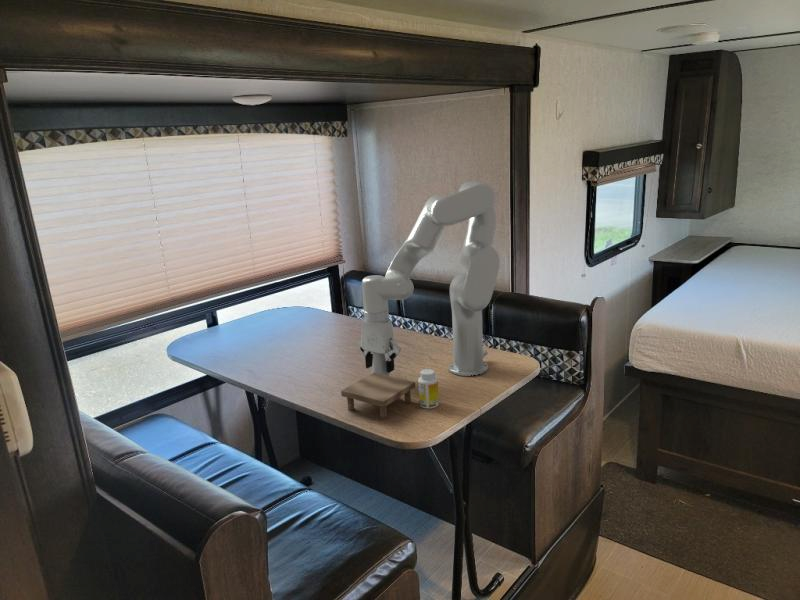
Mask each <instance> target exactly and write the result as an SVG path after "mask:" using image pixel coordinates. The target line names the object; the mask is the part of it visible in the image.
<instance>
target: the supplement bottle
mask: <svg viewBox="0 0 800 600" xmlns="http://www.w3.org/2000/svg"><path fill="white" fill-rule="evenodd" d="M417 383H418V384H417V385H418V400H419V402H418V403H419V406H420V407H421V408H423V409H426V410H428V409H429V410H431V409H435V408H437V407H438V406H439V404H440V399H439V398H440V397H439V379H438V377H437V376H436V373H435V370H434V369H431V368H425V369H422V370H421V371H420V377H418V380H417Z"/></svg>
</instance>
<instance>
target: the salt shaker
mask: <svg viewBox="0 0 800 600" xmlns="http://www.w3.org/2000/svg"><path fill="white" fill-rule="evenodd" d="M372 354H373V362H372V366H371V371H370V375H371V374H372V373H377V374H382V375H386V376H390V373H391V372H390V373H387V370H386V361H387V358H386V356H385V354H380V353H375V352H372Z"/></svg>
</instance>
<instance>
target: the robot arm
mask: <svg viewBox="0 0 800 600" xmlns="http://www.w3.org/2000/svg"><path fill="white" fill-rule="evenodd" d="M495 202H496V192H495V189H493V187H491V185H489V184H487V183H484V182H479V181H467V182H464V183H463V184H462V185H460V187H459V189H458V192H454V193H452V194H449V195H441V194H439V195H437V194H436V195H433V196H431V197H429V198H428V199H427V200H426V202H425V203H424V206H423V207H422V210H421V212H420V213H419V215H418V217H417V219H416V221H415V223H414V225H413V227H412V229H411V231H410V233H409V235H408V237H407V238H406V239H405V241H404V242H403V244H402V246H401V247H400V248H399V250H397V252H396V254H395V255H394V257H393V259H392V261H391V262H390V265H389V267H388V268H387V271H386V273H385V276H384V275H378V274H377V275H376V274H374V275H367V276H365V277H364V278H363V279H362V280H361V288H362V289H361V290H362V302H363V303H362V305H363V310H362V312H361V314H362V315H364V316H363V317H364V318H363V319H362V321H361V329H360V330H361V331H360V332H361V333H360V337H361V338H360V339H358V340H357V341H356V343H357V346H358V347H359V349H360V351H361V353H362V355H363V356H364V358H365V360H364V361H365V368H366V369H370V368H372V362H373V352H375V353H380V354H385V357H386V370H387V373H392V372H393V371H395V359H396V357H397V356H399V354H400V352H401V350H402V348H401V347H400V346H399V344H397V343H396V342H395V335H394V330H393V325H392V320H391V319H390V317H389V315H390V314H389V300H393V301H395V300H397V301H402V300H406V299H408V298H410V297H411V296H412V294H413V292H414V289H415V288H414V283H413V281H412V280H411V278H410V277H411V274H412V273H413V271H414V269H415V267H416V266H417V265H418V263H419V262H420V261H421V260H422V259H423V258H425V257H426V256H428V255H429V254H430V253H432V252H433V251H434V249H435V247H436V245H437V243H438V242H439V239H440V237H441V235H442V233H443V231H444V229H445V227H450V226H453V225H457V224H460V223H463V222H464V221H467V220H468V222H467V223H468V224H467V229H466V232H465V233H466V234H465V237H464V241H463V244H462V248H461V251H460V262H461V264H462V266H464V268H465V269H467V271H466V273H461V274H457V275H456V276H455V277H454V278H452V280H451V282H450V285H449V300H450V307H451V316H452V317H451V321H452V349H453V350H452V351H453V355H452V356H453V362H451V363H449V365H448V370H449V372H450V373H452V374H453V375H456V376H460V377H462V376H463V377H474V376H473V375H476V376H479V375H478V374H480V375H483V374H485V373H486V372H487V371H488V369H489V366H488V363H487V362H485V361H484V357H487V355H488V351H487V350H486V349H484V347H483V345H484V344H483V343H484V342H483V341H484V340H483V334H484V333H483V310H484V309H485V308H487V306H488V305H489V303H490V301H491V300H492V297H493V294H494V290H495V286H496V282H497V279H498V274H499V271H500V266H501V264H500V263H501V262H500V261H501V260H500V255H499V253H498V251H497V250H496V248H494V247H493V243H494V239H495V238H494V237H495V233H496V227H497V213H496V209H495V206H494V205H495ZM393 350H394V351H393ZM484 372H485V373H484ZM482 373H483V374H482ZM471 375H472V376H471Z"/></svg>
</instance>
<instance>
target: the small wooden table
mask: <svg viewBox="0 0 800 600" xmlns="http://www.w3.org/2000/svg"><path fill="white" fill-rule="evenodd" d="M415 388H416V381H413V380H408V379H403V378H399V377H394V376H392V375H391V376H390V375H389V376H386V375H382V374H377V373H372V374H371V373H370V374H368V375H367V376H365V377H363V378H362V379H359V380H358V381H357V382H354V383H352V384H351V385H349V386H347V387H345V388H344V389H341V390H340V394H341V397H345V398H346V400H347V401H346V402H347V403H346V404H347V410H348V411H354V410H355V400H356V401H359V402H364V403H366V404H370V405H375V406H378V407H379V417H380V420H382V421H384V420H387V419H388V414H387V412H388V409H387V406H388V405H389V404H392V403H393V402H394V401H396V400H397V399H399V398H400V397H402V396H404V397H403V398H404V403H405V404H411V403H412V396H411V391H412V390H413V389H415Z"/></svg>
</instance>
